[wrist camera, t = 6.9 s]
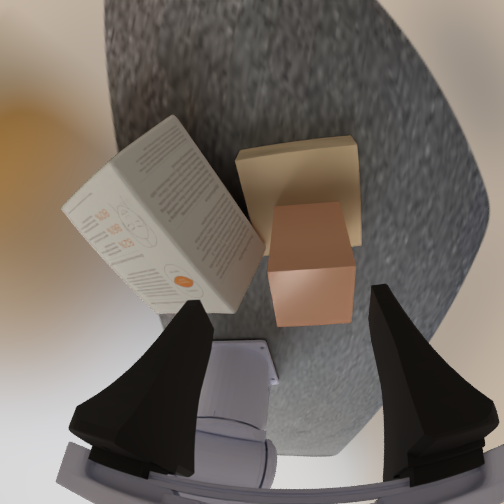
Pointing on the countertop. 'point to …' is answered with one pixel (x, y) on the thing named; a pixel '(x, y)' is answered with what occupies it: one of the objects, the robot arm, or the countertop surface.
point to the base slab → (301, 180)
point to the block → (311, 265)
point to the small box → (168, 224)
